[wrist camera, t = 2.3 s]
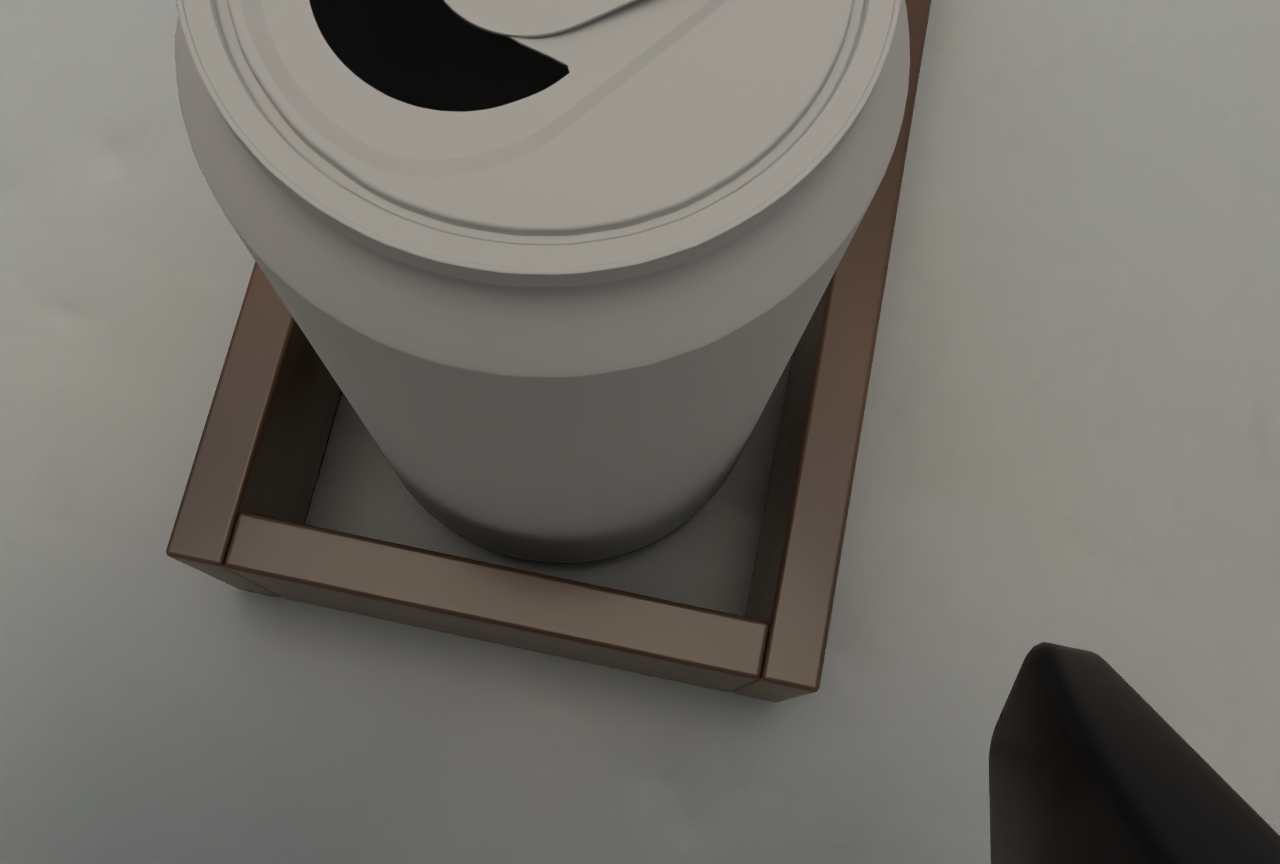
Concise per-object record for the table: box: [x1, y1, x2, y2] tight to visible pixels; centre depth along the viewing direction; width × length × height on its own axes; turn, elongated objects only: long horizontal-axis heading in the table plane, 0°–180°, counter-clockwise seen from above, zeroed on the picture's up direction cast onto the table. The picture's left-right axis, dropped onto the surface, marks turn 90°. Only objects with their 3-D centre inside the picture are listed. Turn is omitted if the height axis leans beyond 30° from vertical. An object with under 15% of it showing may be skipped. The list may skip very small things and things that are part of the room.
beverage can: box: [175, 0, 910, 563], centre depth 15 cm, size 6×6×12 cm
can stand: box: [166, 0, 931, 702], centre depth 20 cm, size 17×9×4 cm, turn 168°
